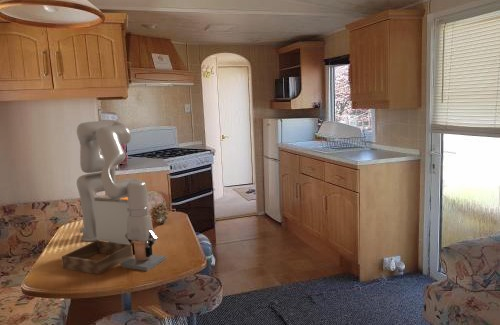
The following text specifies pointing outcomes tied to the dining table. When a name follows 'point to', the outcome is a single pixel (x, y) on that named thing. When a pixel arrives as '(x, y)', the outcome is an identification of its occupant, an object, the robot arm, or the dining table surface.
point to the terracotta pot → (140, 250)
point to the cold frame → (116, 256)
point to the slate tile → (143, 262)
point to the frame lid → (111, 219)
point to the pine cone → (159, 213)
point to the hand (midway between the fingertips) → (142, 254)
